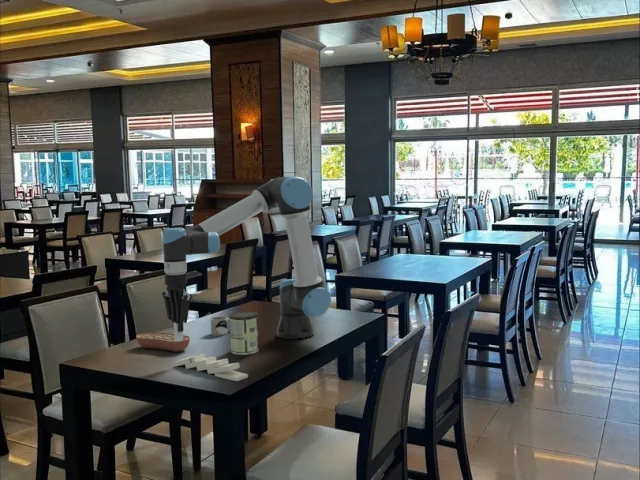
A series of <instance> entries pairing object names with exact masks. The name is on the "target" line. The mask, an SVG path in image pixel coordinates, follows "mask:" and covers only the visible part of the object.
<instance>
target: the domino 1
mask: <svg viewBox="0 0 640 480" xmlns="http://www.w3.org/2000/svg"><path fill="white" fill-rule="evenodd" d="M205 358H207V357H206V354H205V353H202V354H198V355H193V356H190V357H185V358H181V359H180V360H176V361H174V364H175V367H179V366H183V365H184V366H185V364H188V363H193V362H196V361H199V360H202V359H205Z"/></svg>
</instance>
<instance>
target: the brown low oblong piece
mask: <svg viewBox="0 0 640 480" xmlns="http://www.w3.org/2000/svg"><path fill="white" fill-rule="evenodd" d="M190 338H191V337H190V336H188V335H185V334H183V340H182V341H178V342H176V341H174V333H171V332H170V333H169V332H156V331H155V332H154V331H153V332H152V331H149V332H143V333H139V334H136V337H135V339H136V342H137V344H138V345H139V346H141V347H142V348H144V349H153V350H163V351H164V350H165V351H171V352H175V353H178V352H182V351H184V350H186V348H188V346H189V344H190V341H191V339H190Z"/></svg>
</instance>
